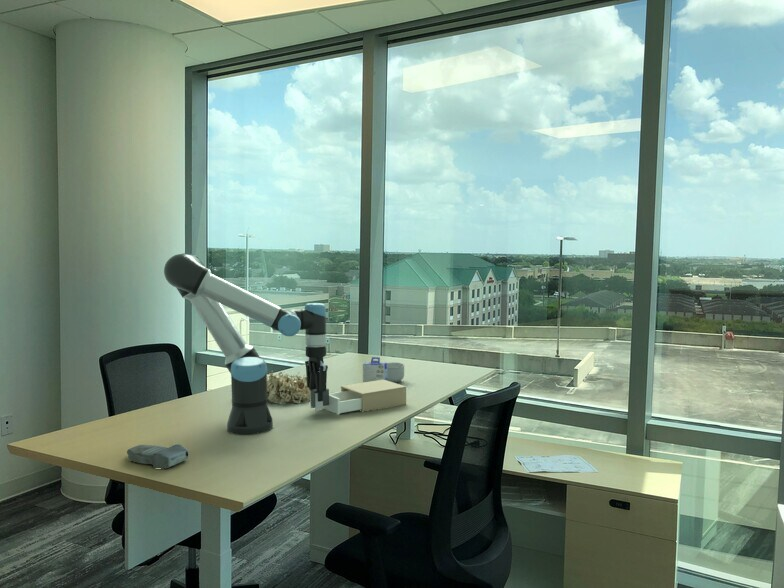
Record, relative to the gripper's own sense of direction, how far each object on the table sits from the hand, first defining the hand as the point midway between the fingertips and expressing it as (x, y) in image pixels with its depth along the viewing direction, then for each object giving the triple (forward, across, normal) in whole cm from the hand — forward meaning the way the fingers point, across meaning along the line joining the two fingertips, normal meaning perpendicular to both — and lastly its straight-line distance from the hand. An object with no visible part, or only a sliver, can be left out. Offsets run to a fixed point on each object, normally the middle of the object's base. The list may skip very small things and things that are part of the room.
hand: (316, 408), depth 224 cm
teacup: (+2, +30, -54) cm, 62 cm away
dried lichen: (+3, +32, -1) cm, 32 cm away
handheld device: (+3, -17, +62) cm, 64 cm away
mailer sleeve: (+2, 0, -25) cm, 25 cm away
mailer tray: (+1, 0, -12) cm, 12 cm away
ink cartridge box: (+2, +17, -37) cm, 41 cm away
